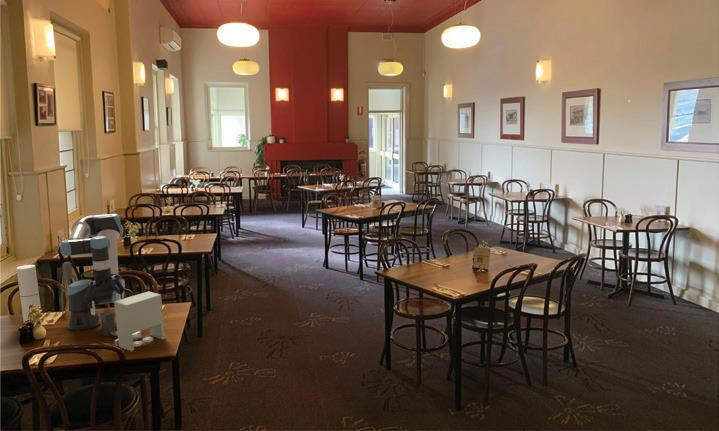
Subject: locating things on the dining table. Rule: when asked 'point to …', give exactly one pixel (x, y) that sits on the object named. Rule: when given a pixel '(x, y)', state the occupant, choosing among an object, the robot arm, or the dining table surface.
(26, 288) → the container
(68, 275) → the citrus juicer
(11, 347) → the dining table surface
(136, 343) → the coaster
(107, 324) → the scraper
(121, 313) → the cabinet
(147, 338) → the coaster
